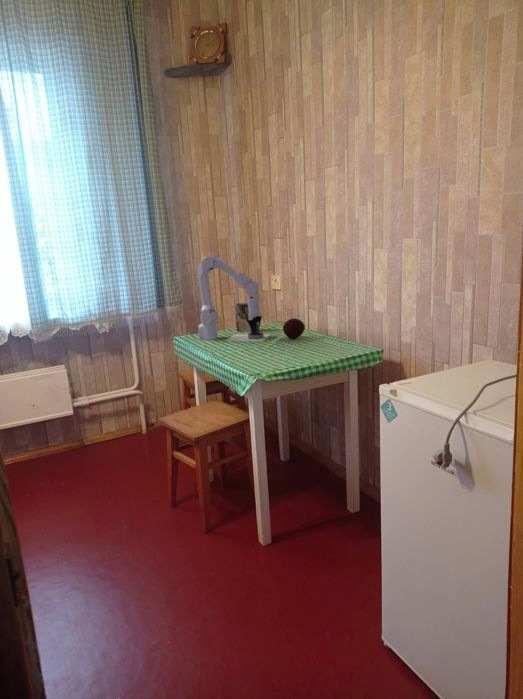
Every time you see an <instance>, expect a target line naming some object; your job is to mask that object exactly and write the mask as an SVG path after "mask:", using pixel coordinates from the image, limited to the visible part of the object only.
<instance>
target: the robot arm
mask: <svg viewBox="0 0 523 699" xmlns="http://www.w3.org/2000/svg"><path fill="white" fill-rule="evenodd" d="M199 262H200V263H199V266H198V269H197V279H198V285H199V291H200V298H201V305H202V306H201V309H200V310H201V312H200V313H201V314H200V321H201V323H199V324H198V326H197V327H198V328H197V329H198V341H201V340H202V341H205V340H206V341H213V340H217V339H218V338H219V336H218V326H217V325H218V324H217V318H218V313H217V311H216V307H215V306H214V305H213V299H212V292H211V284H210V277H209V274H210V273H211V272H212V271H213V269H218V270H219V269H221V270H222V271H224V272H225V273H226V274H227V275H230V276H231V277H232V278H233V280H234V282H235V283H237V284H238V285H239V286H241V287H242V288H243V289H244V290H245V291H246V293H247V303H248V311H249V314H248V319H247V322H248V323H249V325H250V328H251V331H252V333H256V330H257V322H259V328H260V326H261V321H262V319H263V316H262V315H263V313H261V311H260V310H261V309H260V296H259V295H260V294H259V289H260V284H259V282H257V281H256V280H254V279H253V278H250V277H249V276H248V275H246V273H245V272H242V271H239V272H238V271H237V270H235V268H234V267H232V266H230V265H229V263H227V262H226V261H225V260H223V259H222V258H220V257H218V256H217V255H216V254H212V255H206V256H205V255H204V257H203V258H201V259H200V261H199Z"/></svg>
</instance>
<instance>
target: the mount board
mask: <svg viewBox="0 0 523 699" xmlns="http://www.w3.org/2000/svg"><path fill="white" fill-rule="evenodd" d="M269 336H271V334H270V333H266V334H265V333H264V332H260V335H251V332H249V333H248V334H247V333H245V334H243V333H242V334H241V333H240V334H238V333H237V334H233V335H232V336H230V337H229V338H227V339H225V340H224V341H225V342H263V341H264V340H266V339H267V338H268V337H269Z"/></svg>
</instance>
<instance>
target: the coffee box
mask: <svg viewBox="0 0 523 699" xmlns="http://www.w3.org/2000/svg"><path fill="white" fill-rule="evenodd" d="M234 310H235V311H234V313H235V324H236V326H235V327H236V332H237V333H251V328H250V325H249V323H248V322H247V319H248V314H249V311H248V302H244V303H243V302H242V303H239V302H238V303H236V304H235V305H234Z"/></svg>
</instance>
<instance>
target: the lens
mask: <svg viewBox="0 0 523 699" xmlns="http://www.w3.org/2000/svg"><path fill="white" fill-rule="evenodd" d="M250 333H251V335H260V333H261V331H260V327H259V322H257V330H256V333H252V331H251V332H250Z"/></svg>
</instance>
